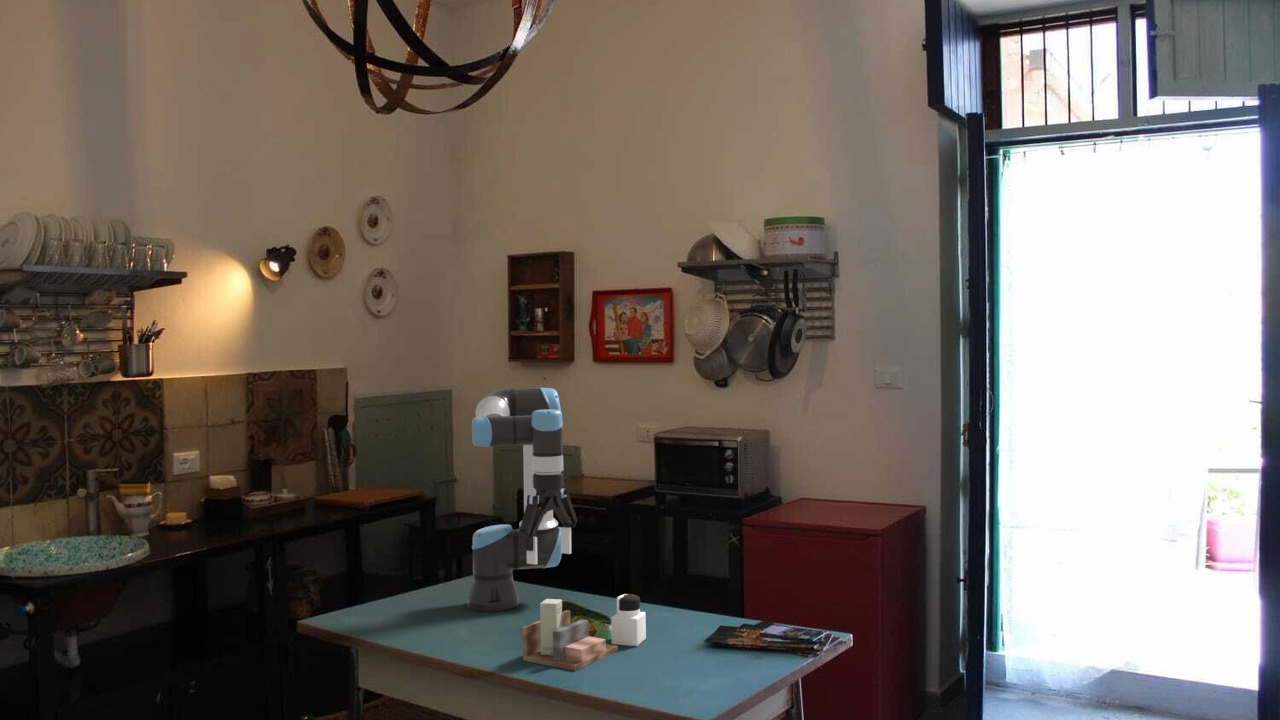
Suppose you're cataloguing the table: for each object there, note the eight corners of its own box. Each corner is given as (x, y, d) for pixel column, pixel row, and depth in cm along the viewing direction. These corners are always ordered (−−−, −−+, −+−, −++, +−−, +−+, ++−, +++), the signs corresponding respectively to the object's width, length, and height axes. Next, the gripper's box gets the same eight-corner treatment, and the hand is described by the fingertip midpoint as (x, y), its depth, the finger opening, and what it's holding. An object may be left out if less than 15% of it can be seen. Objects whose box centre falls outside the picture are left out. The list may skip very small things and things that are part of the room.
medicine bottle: (646, 638, 268) (645, 593, 268) (637, 646, 261) (636, 600, 261) (620, 636, 270) (620, 591, 270) (611, 644, 264) (610, 598, 263)
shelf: (567, 641, 267) (566, 610, 266) (617, 650, 258) (617, 618, 258) (522, 660, 252) (522, 627, 251) (575, 670, 243) (574, 636, 243)
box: (557, 656, 250) (556, 604, 250) (540, 655, 251) (539, 603, 251) (563, 650, 255) (562, 598, 255) (546, 649, 256) (545, 598, 256)
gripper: (566, 465, 265) (568, 547, 265) (503, 477, 244) (504, 566, 244) (590, 467, 261) (591, 550, 261) (527, 479, 240) (529, 570, 240)
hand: (549, 558), depth 253 cm, fingers open, 13 cm apart
